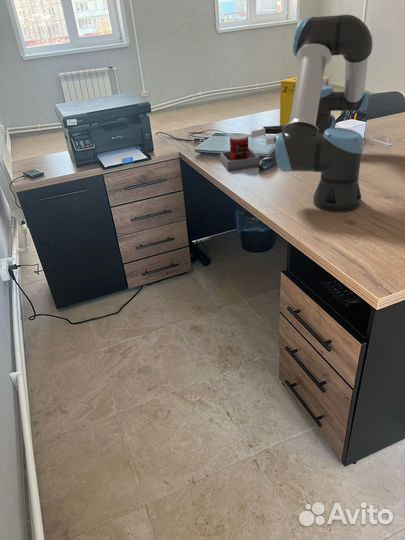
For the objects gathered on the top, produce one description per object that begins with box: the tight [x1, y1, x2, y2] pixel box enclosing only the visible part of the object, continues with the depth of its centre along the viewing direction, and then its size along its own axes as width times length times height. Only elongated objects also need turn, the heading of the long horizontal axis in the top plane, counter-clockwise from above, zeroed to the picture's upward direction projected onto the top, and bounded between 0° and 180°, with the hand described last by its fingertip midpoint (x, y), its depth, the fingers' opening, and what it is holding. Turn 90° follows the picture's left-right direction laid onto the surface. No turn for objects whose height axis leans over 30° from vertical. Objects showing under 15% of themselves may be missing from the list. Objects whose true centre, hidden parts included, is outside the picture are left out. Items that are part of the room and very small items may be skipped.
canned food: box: [229, 133, 249, 161], centre depth 169 cm, size 8×8×11 cm
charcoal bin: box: [219, 147, 260, 172], centre depth 172 cm, size 14×14×4 cm
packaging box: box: [279, 76, 331, 133], centre depth 197 cm, size 16×16×25 cm
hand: (258, 137), depth 170 cm, fingers open, 13 cm apart
